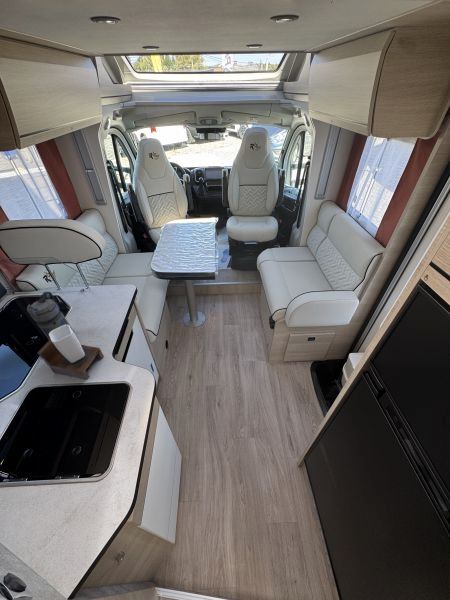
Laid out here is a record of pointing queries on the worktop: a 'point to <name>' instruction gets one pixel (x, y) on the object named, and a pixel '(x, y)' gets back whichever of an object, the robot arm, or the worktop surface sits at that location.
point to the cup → (67, 343)
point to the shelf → (65, 366)
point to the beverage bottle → (47, 314)
